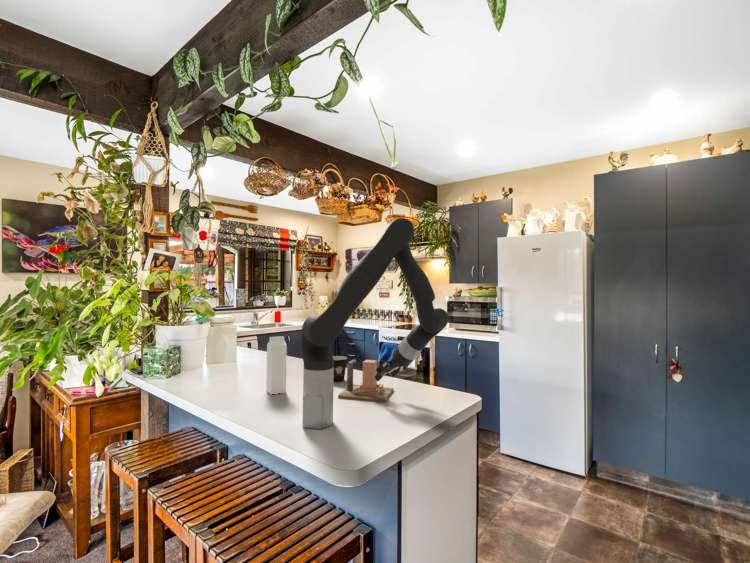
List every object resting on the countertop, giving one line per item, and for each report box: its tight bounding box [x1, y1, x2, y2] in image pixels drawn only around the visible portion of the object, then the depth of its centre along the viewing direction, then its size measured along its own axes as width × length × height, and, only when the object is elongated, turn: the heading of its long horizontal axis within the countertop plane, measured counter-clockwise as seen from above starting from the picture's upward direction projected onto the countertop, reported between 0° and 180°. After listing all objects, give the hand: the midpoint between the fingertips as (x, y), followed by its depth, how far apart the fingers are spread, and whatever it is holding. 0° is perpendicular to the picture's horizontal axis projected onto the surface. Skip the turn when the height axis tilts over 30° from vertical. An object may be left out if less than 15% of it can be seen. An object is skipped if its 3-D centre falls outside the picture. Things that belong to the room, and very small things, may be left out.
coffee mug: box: [332, 355, 348, 383], centre depth 167 cm, size 12×9×10 cm
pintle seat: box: [337, 359, 394, 403], centre depth 146 cm, size 16×18×12 cm
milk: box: [265, 335, 288, 396], centre depth 148 cm, size 6×6×22 cm
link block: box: [362, 359, 378, 390], centre depth 146 cm, size 4×4×12 cm
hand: (384, 377), depth 140 cm, fingers open, 8 cm apart
